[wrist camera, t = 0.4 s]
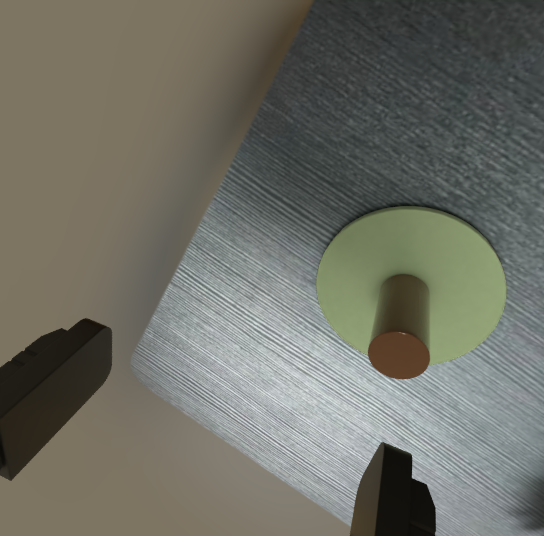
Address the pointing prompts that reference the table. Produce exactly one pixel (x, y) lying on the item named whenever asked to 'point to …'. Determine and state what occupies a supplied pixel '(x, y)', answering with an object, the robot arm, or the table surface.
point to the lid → (411, 288)
